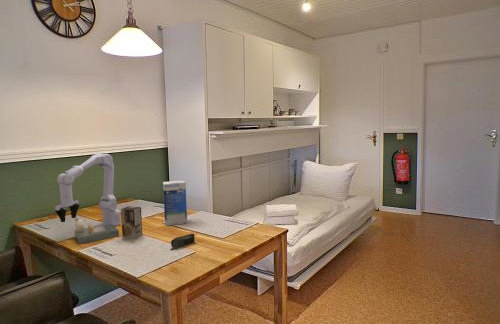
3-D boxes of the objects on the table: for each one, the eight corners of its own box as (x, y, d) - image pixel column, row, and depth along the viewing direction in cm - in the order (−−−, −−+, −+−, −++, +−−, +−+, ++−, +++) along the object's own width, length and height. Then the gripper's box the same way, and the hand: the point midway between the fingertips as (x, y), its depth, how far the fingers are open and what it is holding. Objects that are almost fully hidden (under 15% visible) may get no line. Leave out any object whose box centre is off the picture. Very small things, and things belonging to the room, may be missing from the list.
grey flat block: (112, 229, 201) (112, 223, 201) (118, 236, 190) (118, 229, 190) (74, 236, 190) (74, 230, 189) (79, 244, 178) (78, 237, 178)
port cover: (102, 227, 194) (102, 222, 193) (105, 231, 187) (105, 225, 187) (88, 230, 189) (87, 224, 189) (91, 234, 183) (90, 228, 182)
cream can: (83, 229, 192) (82, 216, 191) (84, 230, 189) (83, 218, 188) (75, 230, 190) (74, 218, 189) (76, 232, 186) (75, 219, 185)
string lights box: (185, 220, 218) (184, 180, 215) (187, 223, 211) (186, 182, 208) (164, 222, 214) (162, 181, 211) (165, 226, 207) (163, 183, 204)
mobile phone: (192, 232, 181) (167, 239, 169) (195, 233, 179) (171, 240, 167) (192, 241, 181) (168, 249, 170) (195, 242, 179) (171, 250, 168)
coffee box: (143, 235, 191) (141, 206, 189) (135, 239, 185) (134, 209, 183) (129, 233, 194) (127, 205, 192) (121, 237, 188) (120, 208, 186)
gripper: (70, 192, 194) (72, 215, 195) (49, 198, 180) (51, 223, 181) (81, 192, 192) (82, 216, 193) (60, 198, 178) (62, 224, 180)
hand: (68, 219), depth 187 cm, fingers open, 7 cm apart
